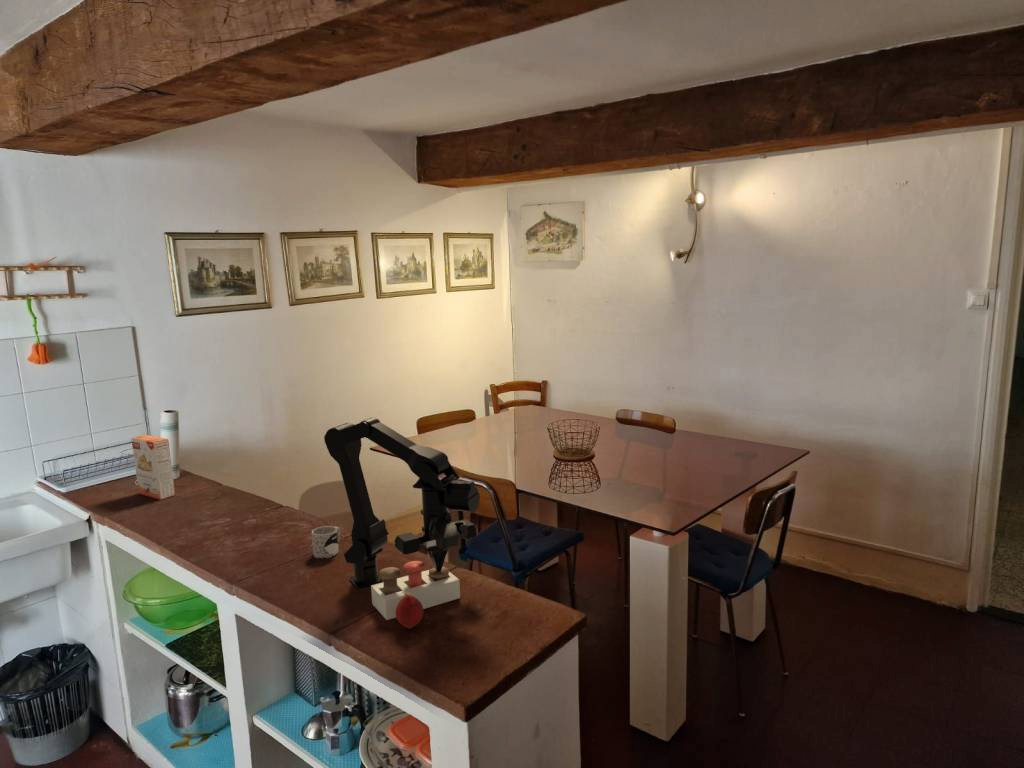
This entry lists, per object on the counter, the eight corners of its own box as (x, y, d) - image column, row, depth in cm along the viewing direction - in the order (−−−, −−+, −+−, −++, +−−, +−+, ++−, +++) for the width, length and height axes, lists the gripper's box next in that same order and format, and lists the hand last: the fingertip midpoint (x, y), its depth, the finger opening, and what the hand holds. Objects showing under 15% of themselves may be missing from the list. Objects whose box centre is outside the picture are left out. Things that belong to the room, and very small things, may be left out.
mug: (329, 560, 185) (327, 536, 184) (308, 557, 187) (306, 534, 186) (350, 545, 195) (348, 523, 194) (329, 543, 197) (327, 521, 196)
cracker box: (137, 494, 248) (130, 437, 244) (154, 489, 253) (147, 433, 249) (159, 500, 240) (152, 441, 237) (176, 495, 245) (169, 437, 242)
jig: (372, 604, 160) (371, 585, 159) (443, 583, 169) (442, 566, 168) (386, 620, 152) (385, 600, 151) (460, 597, 161) (459, 579, 160)
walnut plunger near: (377, 593, 158) (376, 570, 157) (396, 588, 160) (395, 565, 159) (385, 601, 154) (383, 577, 153) (404, 595, 156) (403, 572, 155)
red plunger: (402, 586, 161) (400, 564, 160) (420, 581, 163) (419, 559, 162) (410, 594, 157) (408, 571, 156) (428, 588, 159) (427, 565, 158)
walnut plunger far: (426, 591, 164) (425, 569, 163) (444, 586, 166) (443, 565, 166) (435, 599, 160) (433, 576, 159) (453, 593, 163) (452, 571, 162)
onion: (425, 620, 151) (423, 586, 150) (422, 634, 146) (420, 598, 144) (398, 621, 151) (396, 587, 150) (394, 635, 145) (392, 599, 144)
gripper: (411, 526, 148) (415, 594, 151) (487, 508, 158) (490, 573, 160) (391, 511, 158) (396, 576, 160) (465, 495, 167) (467, 556, 170)
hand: (438, 570), depth 162 cm, fingers closed, pressing on walnut plunger far
